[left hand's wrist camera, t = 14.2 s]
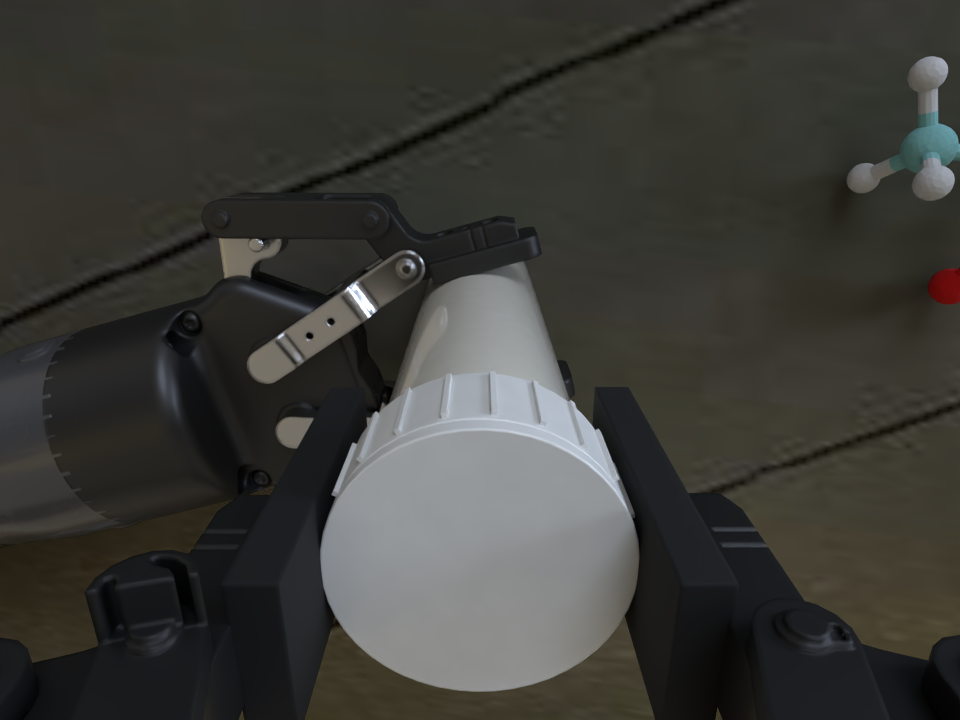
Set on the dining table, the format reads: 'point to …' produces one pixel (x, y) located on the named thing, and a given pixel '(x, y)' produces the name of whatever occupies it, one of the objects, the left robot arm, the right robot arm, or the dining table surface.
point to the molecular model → (922, 161)
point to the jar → (481, 332)
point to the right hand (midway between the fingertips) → (552, 312)
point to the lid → (479, 535)
